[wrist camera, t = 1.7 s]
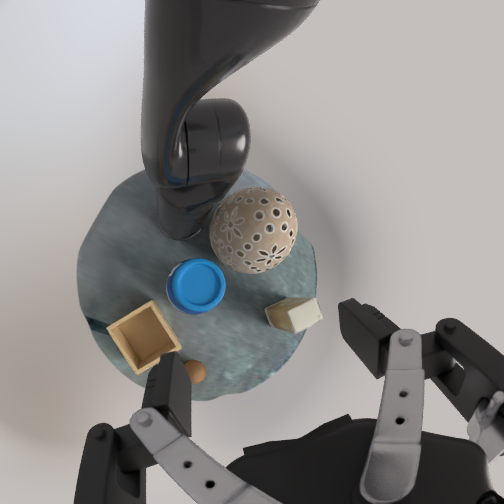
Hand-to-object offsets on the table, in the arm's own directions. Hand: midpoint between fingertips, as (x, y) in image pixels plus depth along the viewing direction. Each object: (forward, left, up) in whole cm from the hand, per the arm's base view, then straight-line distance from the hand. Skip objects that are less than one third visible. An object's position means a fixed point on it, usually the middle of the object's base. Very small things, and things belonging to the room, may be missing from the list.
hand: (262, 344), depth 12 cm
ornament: (-6, +16, -41) cm, 45 cm away
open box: (0, -10, -41) cm, 42 cm away
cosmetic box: (+11, +15, -41) cm, 45 cm away
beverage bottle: (-3, +2, -41) cm, 42 cm away
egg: (+10, -6, -41) cm, 43 cm away
